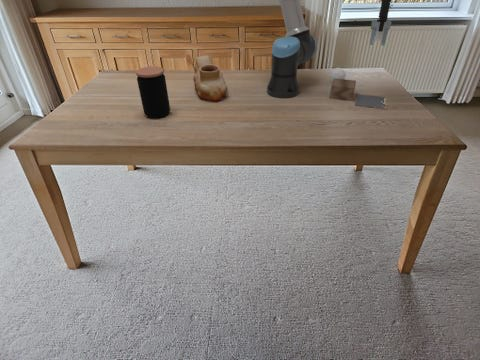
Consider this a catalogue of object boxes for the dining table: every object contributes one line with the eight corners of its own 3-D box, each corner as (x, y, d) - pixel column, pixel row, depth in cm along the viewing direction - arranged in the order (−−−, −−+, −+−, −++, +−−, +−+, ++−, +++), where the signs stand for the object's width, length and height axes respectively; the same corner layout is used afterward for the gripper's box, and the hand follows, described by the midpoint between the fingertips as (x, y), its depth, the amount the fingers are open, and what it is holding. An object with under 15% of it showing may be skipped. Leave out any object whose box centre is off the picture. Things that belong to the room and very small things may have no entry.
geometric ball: (331, 88, 156) (323, 75, 154) (340, 79, 159) (332, 66, 156) (341, 85, 150) (334, 71, 147) (351, 76, 152) (343, 62, 149)
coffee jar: (175, 110, 131) (169, 67, 120) (162, 121, 123) (154, 76, 112) (153, 107, 134) (145, 65, 123) (139, 117, 126) (129, 73, 115)
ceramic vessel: (216, 81, 159) (214, 51, 150) (231, 100, 139) (230, 67, 130) (190, 85, 155) (186, 54, 146) (201, 104, 135) (198, 70, 126)
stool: (367, 45, 122) (372, 22, 117) (367, 41, 127) (372, 19, 122) (386, 46, 119) (391, 23, 115) (386, 42, 125) (391, 20, 120)
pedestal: (329, 98, 140) (331, 85, 136) (331, 90, 147) (333, 78, 143) (352, 101, 137) (355, 88, 133) (353, 93, 144) (356, 80, 141)
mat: (355, 105, 133) (355, 104, 133) (356, 94, 143) (356, 93, 143) (387, 109, 130) (387, 108, 129) (386, 98, 139) (386, 97, 139)
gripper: (406, -31, 100) (389, 44, 113) (403, -34, 115) (387, 33, 128) (382, -31, 102) (367, 43, 116) (381, -33, 117) (368, 32, 131)
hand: (378, 38), depth 122 cm, fingers closed on stool, 7 cm apart
